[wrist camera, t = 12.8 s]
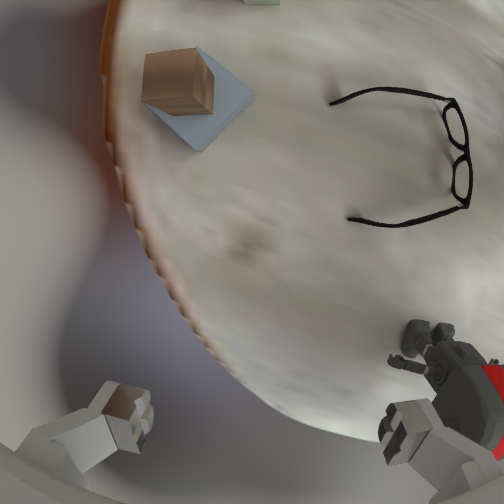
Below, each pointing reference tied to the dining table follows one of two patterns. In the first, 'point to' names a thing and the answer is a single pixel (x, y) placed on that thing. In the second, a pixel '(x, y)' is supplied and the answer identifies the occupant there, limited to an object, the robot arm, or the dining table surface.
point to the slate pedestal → (224, 108)
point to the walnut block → (178, 83)
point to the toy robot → (458, 383)
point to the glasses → (464, 148)
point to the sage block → (263, 2)
